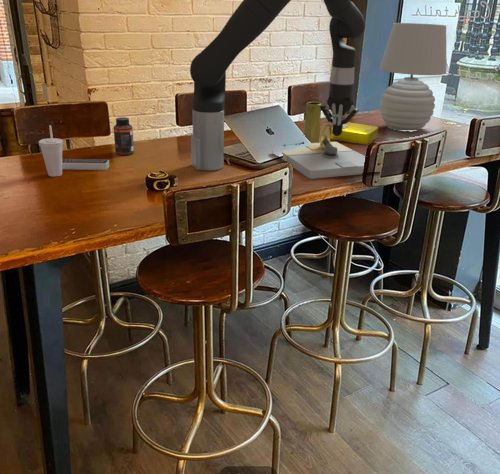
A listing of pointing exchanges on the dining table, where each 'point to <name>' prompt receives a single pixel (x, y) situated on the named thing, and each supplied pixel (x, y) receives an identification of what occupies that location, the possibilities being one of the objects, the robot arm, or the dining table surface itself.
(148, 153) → the dining table surface
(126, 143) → the supplement bottle
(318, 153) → the grey flat slab
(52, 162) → the smoothie
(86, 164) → the multiport hub
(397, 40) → the table lamp
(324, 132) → the latch arm
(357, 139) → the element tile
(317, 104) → the vase
